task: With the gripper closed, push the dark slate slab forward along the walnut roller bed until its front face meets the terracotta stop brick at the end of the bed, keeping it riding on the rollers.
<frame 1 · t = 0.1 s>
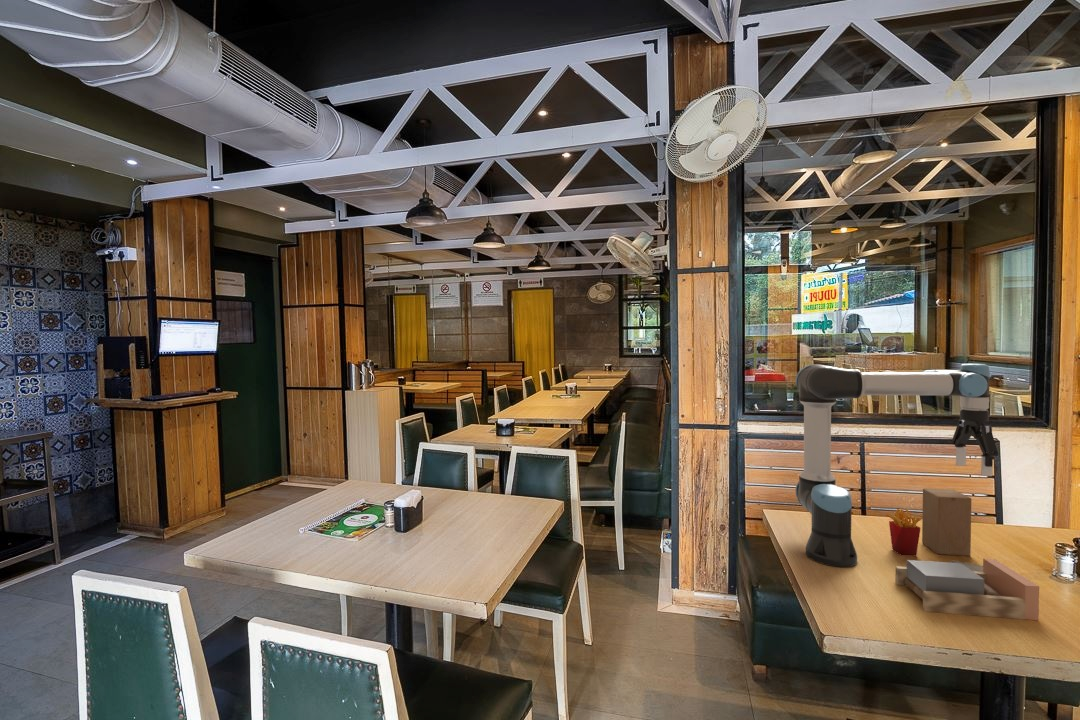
hand: (973, 470, 172), 28 cm above the table, fingers open, 13 cm apart
slab: (943, 586, 142), point 3 cm above the table, touching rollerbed
french fries: (899, 551, 174), on the table
stop: (1008, 603, 139), on the table
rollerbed: (955, 599, 142), on the table
stone: (982, 579, 155), on the table
wooden block: (945, 550, 175), on the table
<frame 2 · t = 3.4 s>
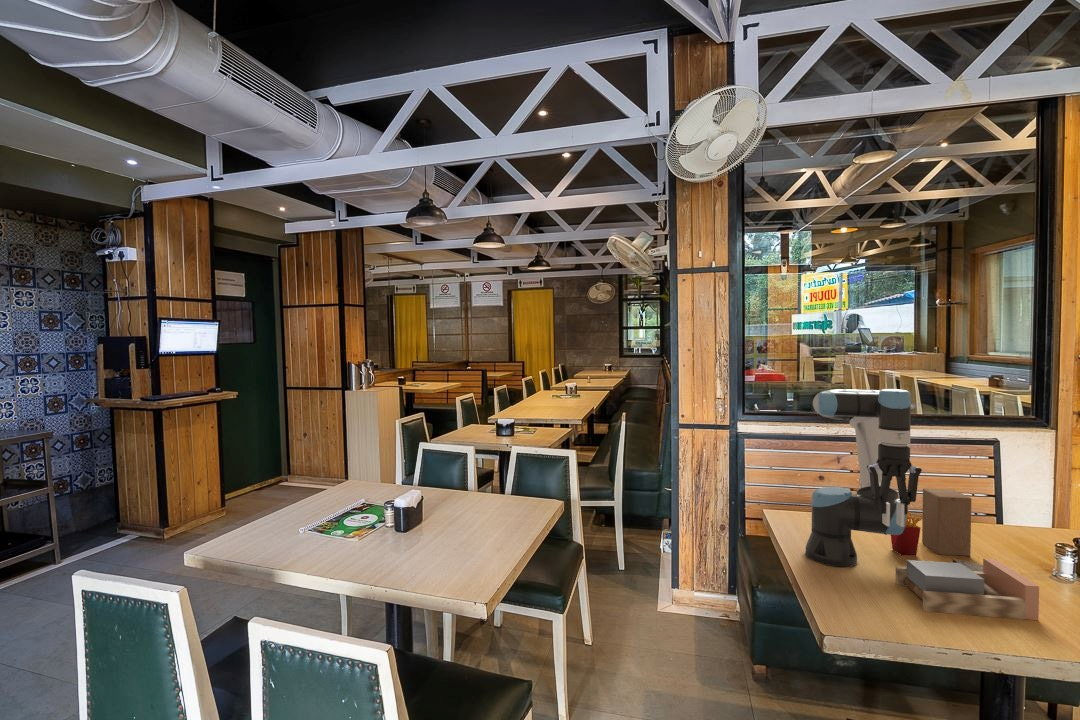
hand: (893, 524, 144), 21 cm above the table, fingers open, 3 cm apart
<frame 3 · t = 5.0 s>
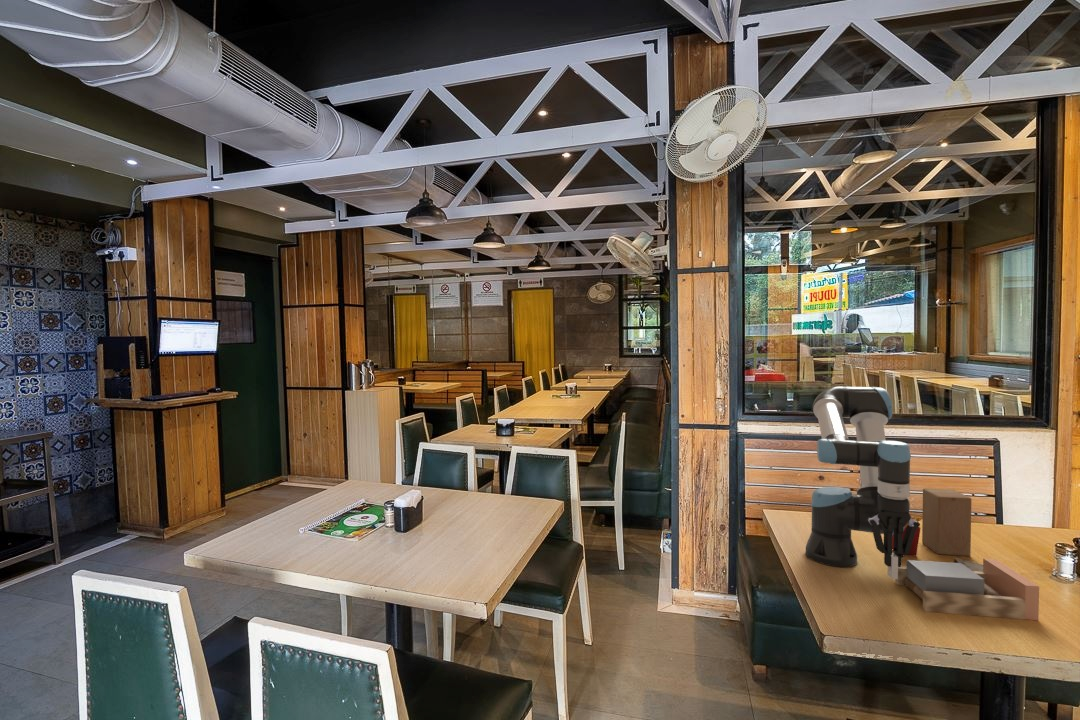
hand: (892, 576, 145), 5 cm above the table, fingers closed
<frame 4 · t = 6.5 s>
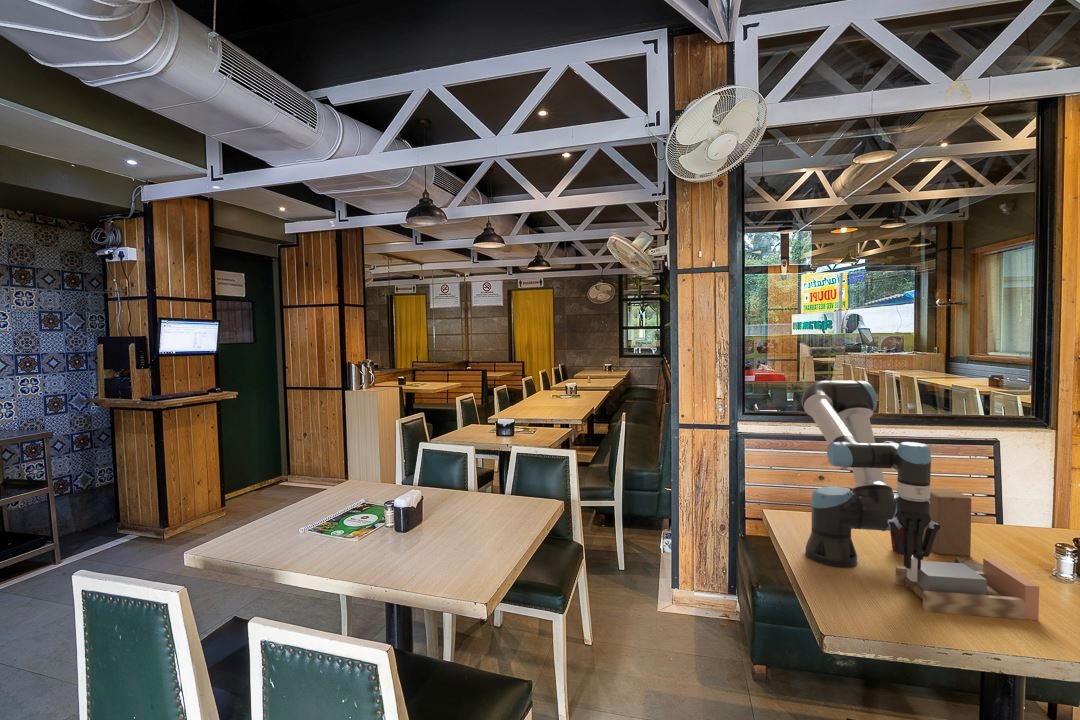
hand: (911, 579, 144), 5 cm above the table, fingers closed
slab: (946, 586, 142), point 3 cm above the table, touching gripper, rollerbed
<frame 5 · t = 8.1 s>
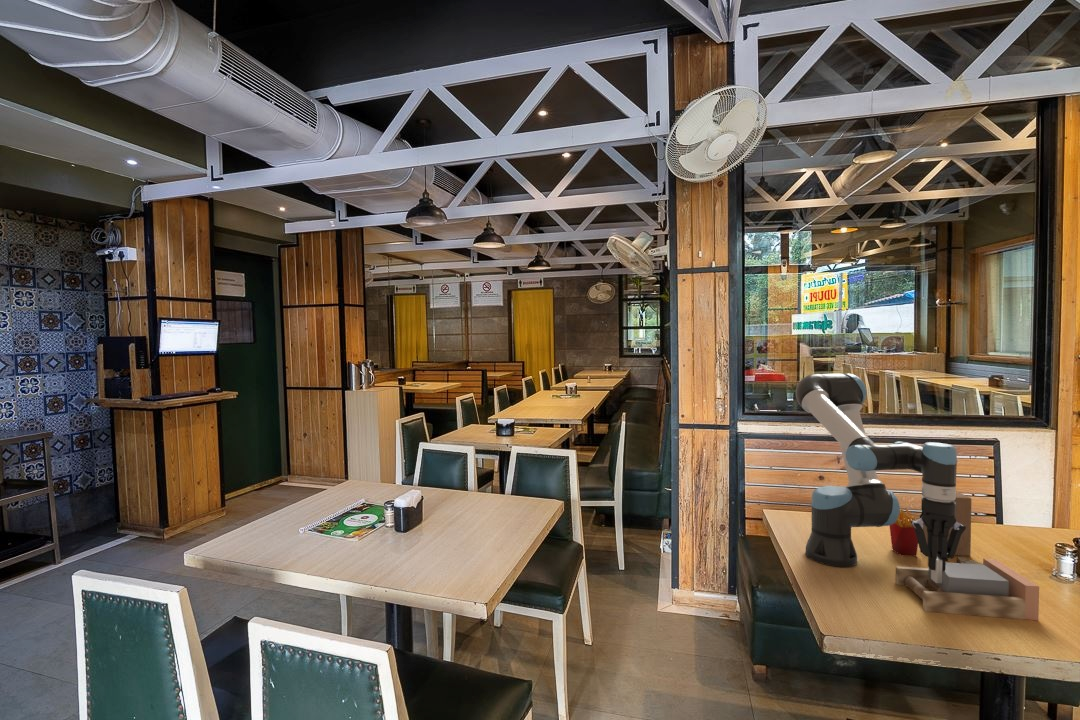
hand: (936, 580, 142), 5 cm above the table, fingers closed
slab: (966, 588, 141), point 3 cm above the table, touching gripper, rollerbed
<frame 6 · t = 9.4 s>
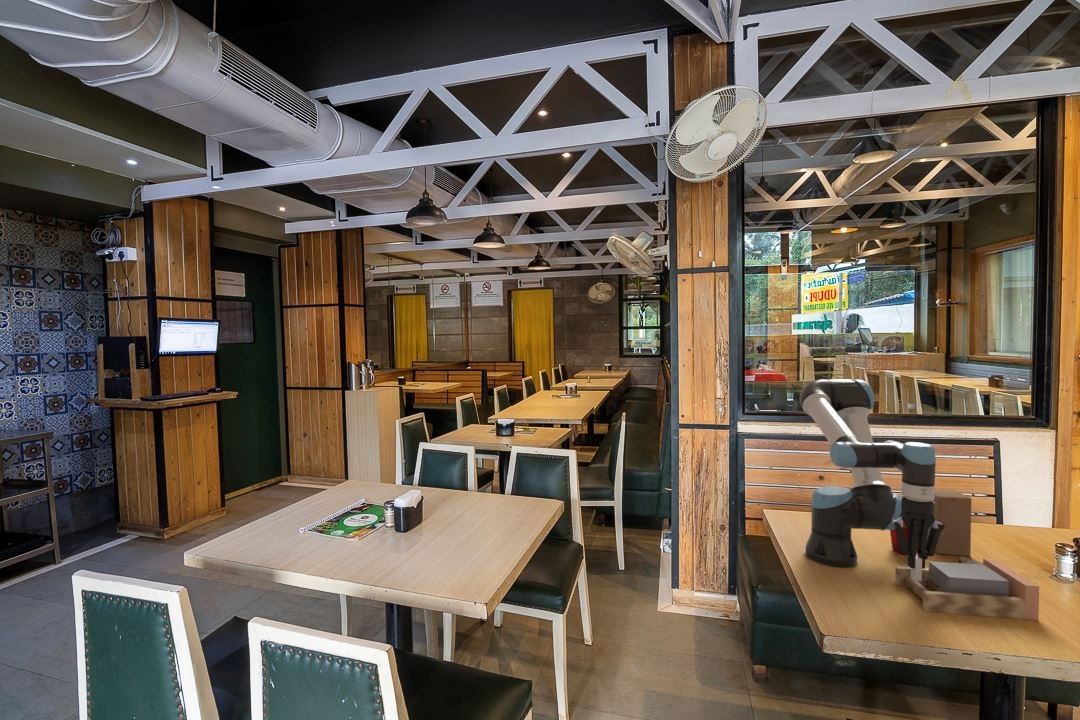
hand: (916, 578, 144), 5 cm above the table, fingers closed
slab: (966, 588, 141), point 3 cm above the table, touching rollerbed
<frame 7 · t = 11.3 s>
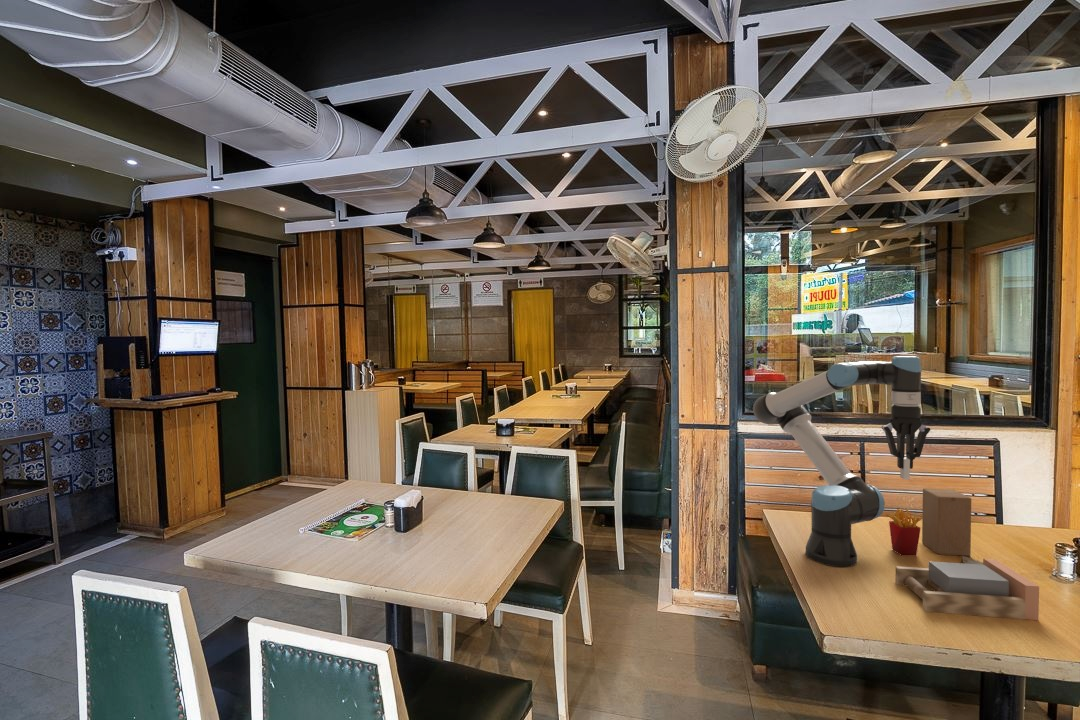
hand: (904, 478, 160), 29 cm above the table, fingers closed
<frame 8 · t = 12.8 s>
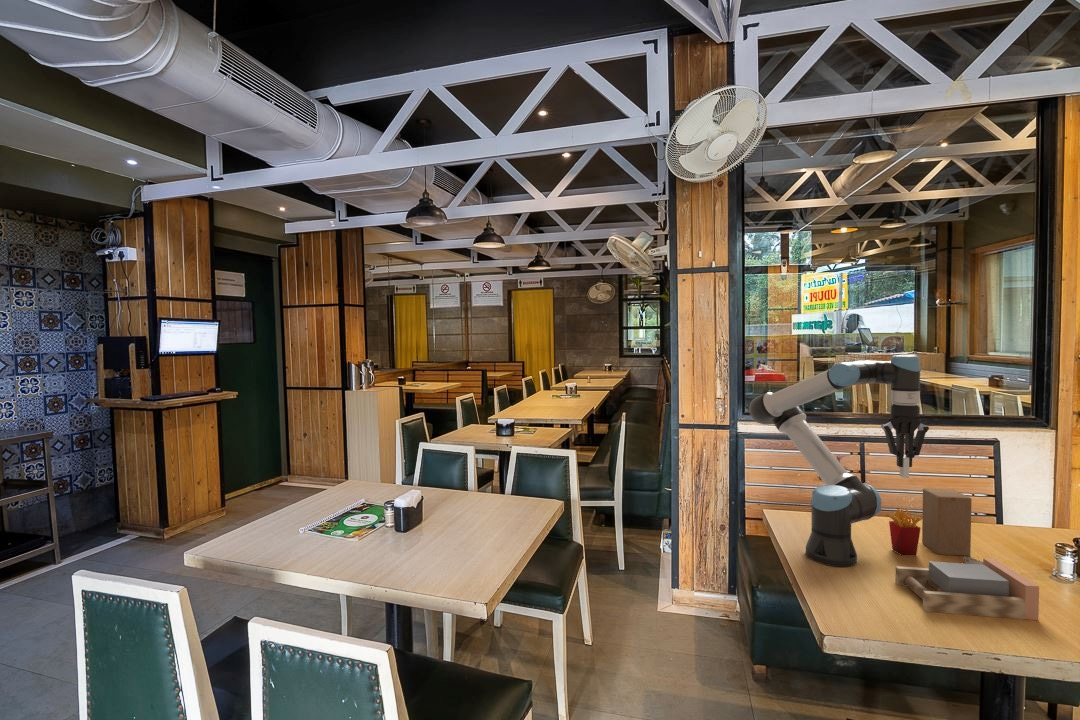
hand: (904, 476, 161), 29 cm above the table, fingers closed
at the end: slab 0.6 cm from the target spot on the stop, point 3.5 cm above the stop's base; slab tilted 0°; slab touching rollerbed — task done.
